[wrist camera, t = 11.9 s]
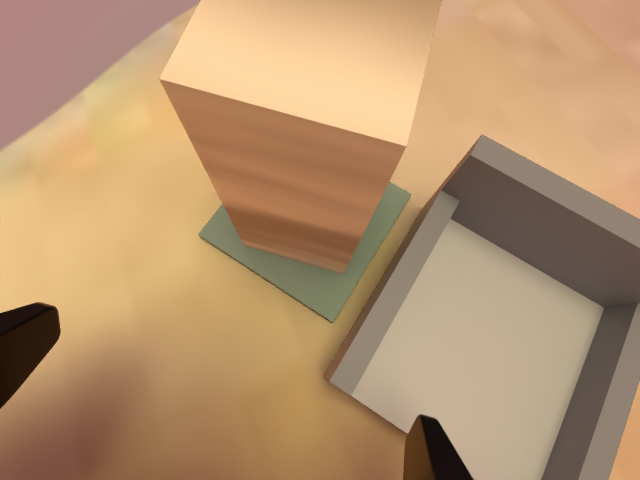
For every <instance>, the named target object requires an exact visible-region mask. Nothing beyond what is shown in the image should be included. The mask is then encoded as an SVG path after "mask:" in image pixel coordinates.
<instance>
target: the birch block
mask: <svg viewBox="0 0 640 480" xmlns="http://www.w3.org/2000/svg"><path fill="white" fill-rule="evenodd" d="M441 2H442V0H201V1H200V3H199V5H198V7H197V9H196V11H195V13H194V15H193V16H192V18H191V20H190V22H189V24H188V26H187V28H186V30H185V31H184V33H183V35H182V37H181V39H180V41H179V43H178V45H177V46H176V48H175V50H174V52H173V54H172V56H171V58H170V59H169V61H168V63H167V65H166V67H165V69H164V71H163V73H162V74H161V76H160V78H159V79H160V81H161V83H162V85H163V87H164V89H165V91H166V93H167V95H168V97H169V99H170V101H171V103H172V105H173V107H174V109H175V111H176V113H177V115H178V117H179V119H180V121H181V123H182V125H183V127H184V129H185V130H186V132H187V134H188V136H189V138H190V140H191V142H192V144H193V146H194V148H195V150H196V152H197V154H198V156H199V158H200V160H201V162H202V164H203V166H204V168H205V170H206V172H207V174H208V176H209V178H210V180H211V182H212V183H213V185H214V187H215V189H216V191H217V193H218V195H219V197H220V199H221V201H222V203H223V205H224V207H225V209H226V211H227V213H228V215H229V217H230V219H231V221H232V223H233V225H234V227H235V229H236V231H237V233H238V235H239V236H240V238H241V240H242V242H243V244H244V246H246V247H250V248H253V249H257V250H260V251H264V252H267V253H271V254H274V255H277V256H281V257H284V258H288V259H291V260H295V261H298V262H302V263H305V264H308V265H312V266H315V267H319V268H322V269H326V270H329V271H333V272H336V273H339V274H344V272H345V270H346V268H347V266H348V264H349V262H350V260H351V258H352V256H353V254H354V252H355V250H356V248H357V246H358V244H359V242H360V240H361V238H362V236H363V234H364V231H365V229H366V227H367V225H368V223H369V221H370V219H371V217H372V215H373V213H374V211H375V209H376V207H377V205H378V203H379V201H380V199H381V197H382V195H383V193H384V191H385V189H386V187H387V185H388V183H389V181H390V179H391V177H392V175H393V173H394V171H395V169H396V167H397V165H398V163H399V160H400V158H401V156H402V154H403V152H404V150H405V148H406V146H407V142H408V138H409V134H410V130H411V126H412V121H413V117H414V113H415V109H416V105H417V101H418V97H419V93H420V88H421V84H422V80H423V76H424V72H425V68H426V64H427V59H428V55H429V51H430V47H431V43H432V39H433V35H434V31H435V26H436V22H437V18H438V14H439V10H440V6H441Z"/></svg>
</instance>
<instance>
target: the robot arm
mask: <svg viewBox="0 0 640 480" xmlns="http://www.w3.org/2000/svg"><path fill="white" fill-rule="evenodd" d="M60 332H61V330H60V322H59V314H58V310H57V308H56V307H55V306H52V305H49V304H45V303H41V302H37V303H33V304H30V305H26V306H23V307H20V308H16V309H13V310H10V311H6V312H3V313H0V409H1V408H2V407H3V406H4V404H5V403H6V402H7V401H8V400H9V399H10V398H11V397H12V396H13V395H14V393H15V392H16V391H17V390H18V389H19V388H20V386H21V385H22V384H23V383H24V381H25V380H26V379H27V378H28V377H29V375H30V374H31V373H32V372H33V370H34V369H35V368H36V367H37V366H38V364H39V363H40V362H41V361H42V359H43V358H44V357H45V356H46V354H47V353H48V352H49V351H50V350H51V348H52V347H53V346H54V345H55V343H56V342H57V341H58V339H59V336H60ZM403 480H474V479H473V477H472V476H471V474H470V473H469V471H468V469H467V468H466V466H465V464H464V463H463V461H462V459H461V458H460V456H459V454H458V453H457V451H456V449H455V448H454V446H453V444H452V443H451V441H450V439H449V438H448V436H447V434H446V433H445V431H444V429H443V428H442V426H441V424H440V423H439V421H438V420H437V419H436V418H434V417H431V416H427V415H424V414H419V415H418V416H417V417H416V419H415V421H414V423H413V425H412V427H411V429H410V431H409V433H408V435H407V437H406V442H405V454H404V474H403Z"/></svg>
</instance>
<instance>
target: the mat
mask: <svg viewBox="0 0 640 480" xmlns="http://www.w3.org/2000/svg"><path fill="white" fill-rule="evenodd" d="M410 196H411V194H410V193H408V192H406V191H405V190H403V189H401V188H400V187H398V186H396V185H394V184H393V183H391V182H389V183H388V185H387V187H386V189H385V191H384V193H383V195H382V197H381V199H380V201H379V203H378V205H377V207H376V209H375V211H374V213H373V215H372V217H371V219H370V221H369V223H368V225H367V227H366V229H365V231H364V234H363V236H362V238H361V240H360V242H359V244H358V246H357V248H356V250H355V252H354V254H353V256H352V258H351V260H350V262H349V264H348V266H347V268H346V270H345V272H344V274H339V273H336V272H333V271H329V270H326V269H322V268H319V267H315V266H312V265H308V264H305V263H302V262H298V261H295V260H291V259H288V258H284V257H281V256H277V255H274V254H271V253H267V252H264V251H260V250H257V249H253V248H250V247H246V246H244V244H243V242H242V240H241V238H240V236H239V235H238V233H237V231H236V229H235V227H234V225H233V223H232V221H231V219H230V217H229V215H228V213H227V211H226V209H225V207H224V205H223V204H222V205H221V207H220V208H219V209H218V210H217V212H216V213H215V214H214V215H213V217H212V218H211V219H210V220H209V222H208V223H207V224H206V225H205V227H204V228H203V229H202V230H201V232H200V233H199V234H198V235H199V236H200V237H201V238H202V239H204V240H205V241H207V242H208V243H210V244H211V245H213V246H215V247H216V248H218V249H219V250H221V251H222V252H224V253H225V254H227V255H228V256H230V257H231V258H233V259H235V260H236V261H238V262H239V263H241V264H242V265H244V266H245V267H247V268H248V269H250V270H251V271H253V272H254V273H256V274H258V275H259V276H261V277H262V278H264V279H265V280H267V281H268V282H270V283H271V284H273V285H274V286H276V287H277V288H279V289H281V290H282V291H284V292H285V293H287V294H288V295H290V296H291V297H293V298H294V299H296V300H297V301H299V302H300V303H302V304H304V305H305V306H307V307H308V308H310V309H311V310H313V311H314V312H316V313H317V314H319V315H320V316H322V317H323V318H325V319H327V320H328V321H330V322H331V323H333V322H334V320H335V319H336V317H337V315H338V314H339V312H340V310H341V309H342V307H343V305H344V304H345V302H346V301H347V299H348V297H349V296H350V294H351V292H352V291H353V289H354V287H355V286H356V284H357V283H358V281H359V279H360V278H361V276H362V274H363V273H364V271H365V270H366V268H367V266H368V265H369V263H370V261H371V260H372V258H373V256H374V255H375V253H376V252H377V250H378V248H379V247H380V245H381V243H382V242H383V240H384V238H385V237H386V235H387V234H388V232H389V230H390V229H391V227H392V225H393V224H394V222H395V220H396V219H397V217H398V216H399V214H400V212H401V211H402V209H403V207H404V206H405V204H406V203H407V201H408V199H409V198H410Z"/></svg>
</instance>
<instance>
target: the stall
mask: <svg viewBox="0 0 640 480" xmlns="http://www.w3.org/2000/svg"><path fill="white" fill-rule="evenodd" d="M323 377H324V378H326V379H327V380H328V381H329V382H331V383H332V384H334V385H335V386H337V387H338V388H340V389H341V390H343V391H344V392H345V393H347V394H348V395H350V396H352V397H354V398H355V399H357V400H358V401H359V402H361V403H362V404H364V405H365V406H367V407H368V408H370V409H371V410H373V411H374V412H376V413H377V414H379V415H380V416H382V417H383V418H385V419H386V420H388V421H389V422H390V423H392V424H393V425H395V426H396V427H398V428H399V429H401V430H402V431H404V432H405V433H407V434H408V433H409V431H410V429H411V427H412V425H413V423H414V421H415V419H416V417H417V416H418V415H419V414H424V415H427V416H431V417H434V418H436V419H437V420H438V421H439V423H440V424H441V426H442V428H443V429H444V431H445V433H446V434H447V436H448V438H449V439H450V441H451V443H452V444H453V446H454V448H455V449H456V451H457V453H458V454H459V456H460V458H461V459H462V461H463V463H464V464H465V466H466V468H467V469H468V471H469V473H470V474H471V476H472V477H473V479H475V480H608V479H609V476H610V473H611V470H612V467H613V463H614V460H615V457H616V454H617V451H618V448H619V444H620V441H621V438H622V435H623V432H624V428H625V425H626V422H627V419H628V416H629V413H630V409H631V406H632V403H633V400H634V397H635V393H636V390H637V387H638V384H639V381H640V219H638V218H636V217H634V216H633V215H631V214H629V213H627V212H625V211H623V210H621V209H620V208H618V207H616V206H614V205H612V204H610V203H608V202H607V201H605V200H603V199H601V198H599V197H597V196H595V195H594V194H592V193H590V192H588V191H586V190H584V189H583V188H581V187H579V186H577V185H575V184H573V183H571V182H570V181H568V180H566V179H564V178H562V177H560V176H558V175H557V174H555V173H553V172H551V171H549V170H547V169H545V168H544V167H542V166H540V165H538V164H536V163H534V162H532V161H531V160H529V159H527V158H525V157H523V156H521V155H519V154H518V153H516V152H514V151H512V150H510V149H508V148H506V147H505V146H503V145H501V144H499V143H497V142H495V141H494V140H492V139H490V138H488V137H486V136H484V135H481V136H480V137H479V139H478V140H477V141H476V142H475V144H474V145H473V146H472V147H471V149H470V150H469V151H468V152H467V154H466V155H465V156H464V157H463V159H462V160H461V161H460V162H459V164H458V165H457V166H456V167H455V169H454V170H453V171H452V172H451V174H450V175H449V176H448V177H447V179H446V180H445V181H444V182H443V184H442V185H441V186H440V187H439V189H438V190H437V191H436V192H435V194H434V195H433V196H432V197H431V198H430V200H429V201H428V202H427V203H426V205H425V206H424V207H423V209H422V210H421V212H420V214H419V215H418V217H417V219H416V220H415V222H414V224H413V225H412V227H411V229H410V231H409V232H408V234H407V236H406V237H405V239H404V241H403V242H402V244H401V246H400V247H399V249H398V251H397V252H396V254H395V256H394V258H393V259H392V261H391V263H390V264H389V266H388V268H387V269H386V271H385V273H384V274H383V276H382V278H381V280H380V281H379V283H378V285H377V286H376V288H375V290H374V291H373V293H372V295H371V296H370V298H369V300H368V301H367V303H366V305H365V307H364V308H363V310H362V312H361V313H360V315H359V317H358V318H357V320H356V322H355V323H354V325H353V327H352V329H351V330H350V332H349V334H348V335H347V337H346V339H345V340H344V342H343V344H342V345H341V347H340V349H339V350H338V352H337V354H336V356H335V357H334V359H333V361H332V362H331V364H330V366H329V367H328V369H327V371H326V372H325V374H324V376H323Z"/></svg>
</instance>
